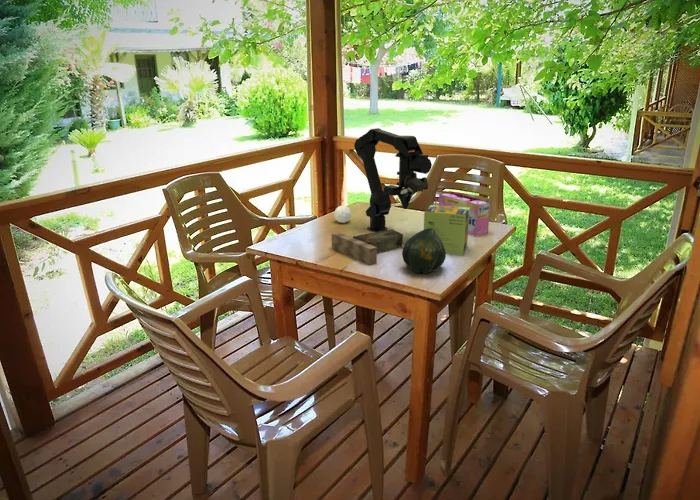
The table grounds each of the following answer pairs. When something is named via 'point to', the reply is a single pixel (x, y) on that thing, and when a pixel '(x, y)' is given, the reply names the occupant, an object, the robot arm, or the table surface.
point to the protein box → (449, 226)
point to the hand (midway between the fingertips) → (405, 208)
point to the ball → (342, 214)
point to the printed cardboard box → (383, 240)
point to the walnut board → (354, 248)
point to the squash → (424, 251)
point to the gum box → (476, 213)
